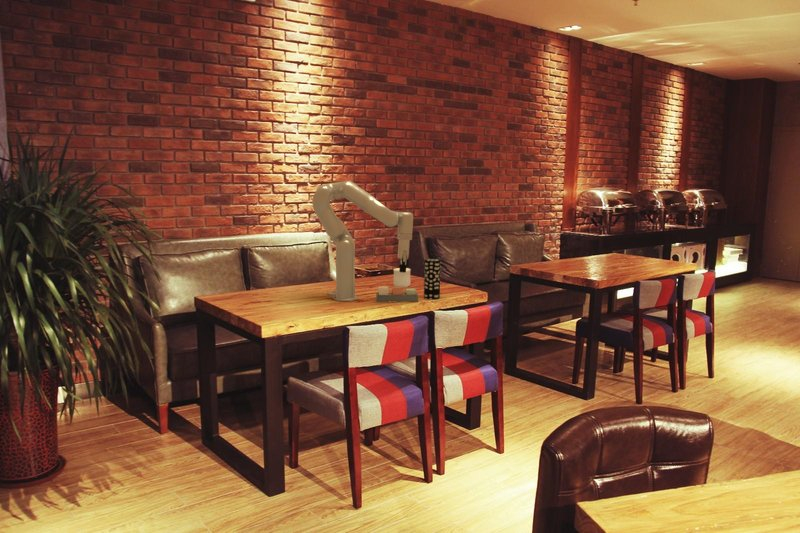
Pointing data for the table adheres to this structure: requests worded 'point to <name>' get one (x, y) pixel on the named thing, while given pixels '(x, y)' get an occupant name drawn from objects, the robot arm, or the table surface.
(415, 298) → the button box
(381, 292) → the white button
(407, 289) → the sage button
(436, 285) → the white-spotted black cylinder
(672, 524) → the table surface
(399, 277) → the cup
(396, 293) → the clay button
